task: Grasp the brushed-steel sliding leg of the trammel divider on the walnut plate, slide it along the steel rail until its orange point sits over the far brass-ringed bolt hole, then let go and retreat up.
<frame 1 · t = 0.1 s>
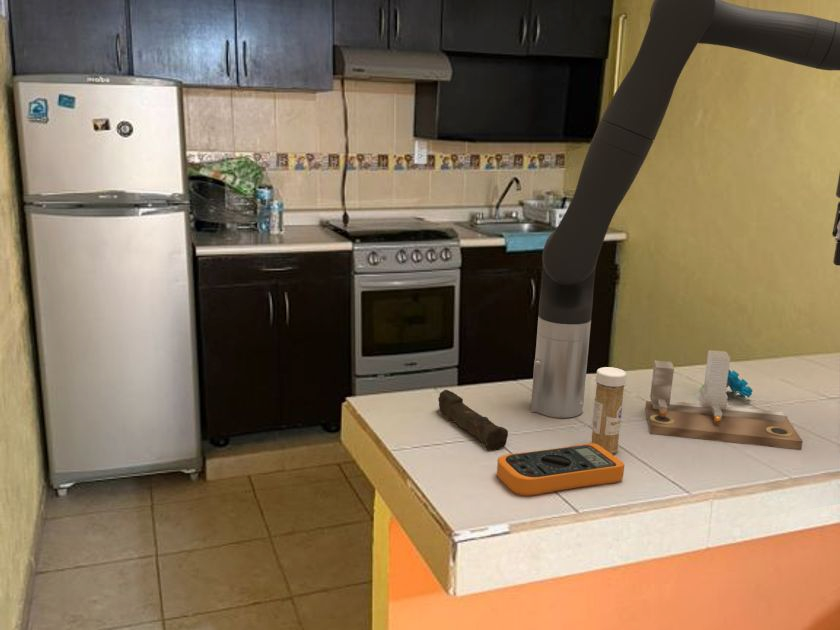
blue branching piece: (724, 396, 153), on the counter
dark brown rod: (464, 431, 132), on the counter
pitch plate: (718, 427, 136), on the counter
sprinkles bottle: (603, 450, 126), on the counter
multimeter: (557, 481, 116), on the counter
sliding leg: (717, 386, 135), point 7 cm above the counter, slide at 0.0 cm
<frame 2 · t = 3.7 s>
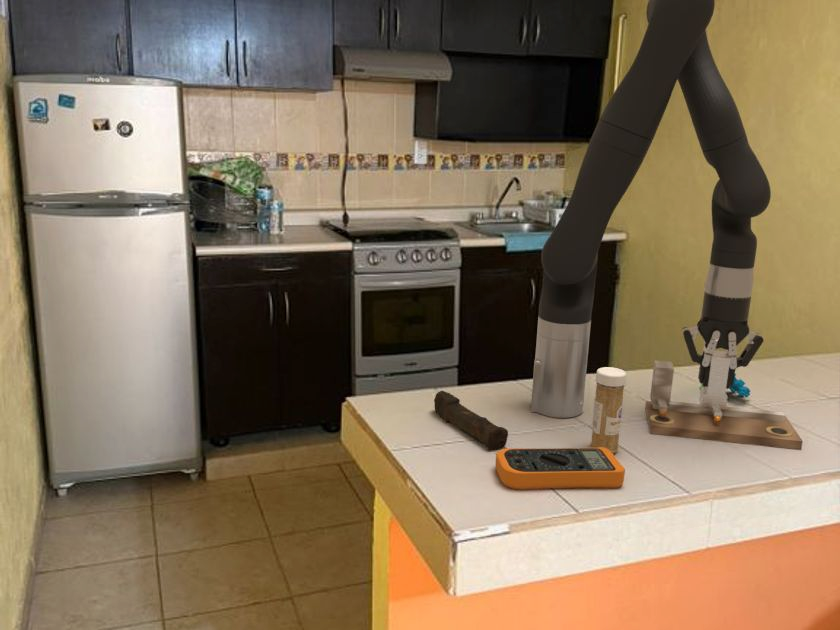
hand: (715, 385, 137), 7 cm above the counter, fingers closed on sliding leg, 3 cm apart
sliding leg: (717, 386, 135), point 7 cm above the counter, slide at 0.0 cm, touching gripper
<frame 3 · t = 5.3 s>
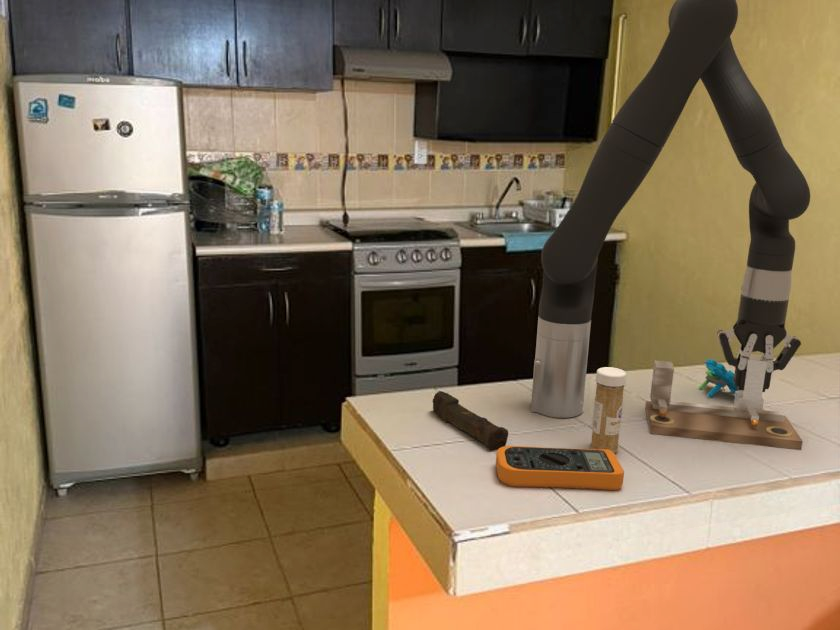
hand: (750, 389, 136), 7 cm above the counter, fingers closed on sliding leg, 3 cm apart
sliding leg: (753, 389, 134), point 7 cm above the counter, slide at 5.9 cm, touching gripper
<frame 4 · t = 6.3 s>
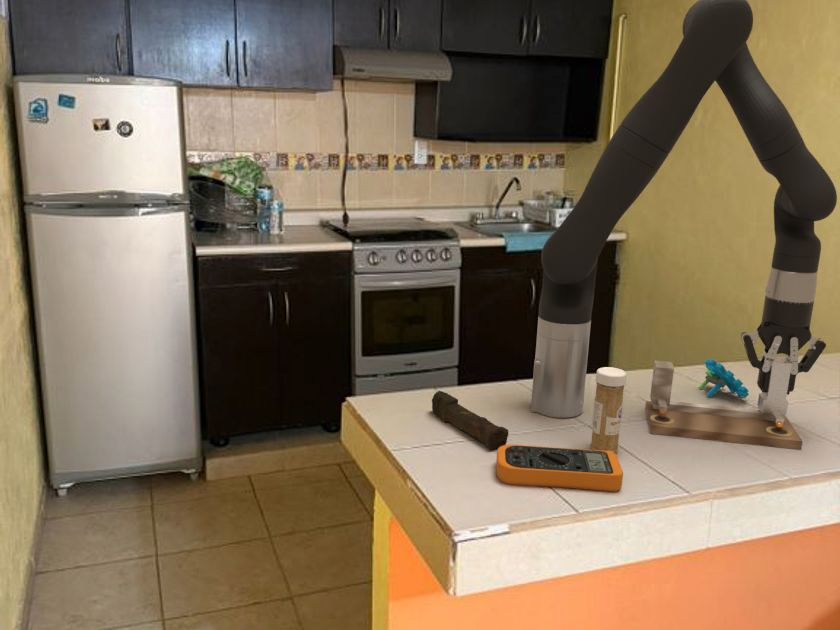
hand: (774, 391, 136), 7 cm above the counter, fingers closed on sliding leg, 3 cm apart
sliding leg: (778, 392, 133), point 7 cm above the counter, slide at 9.9 cm, touching gripper
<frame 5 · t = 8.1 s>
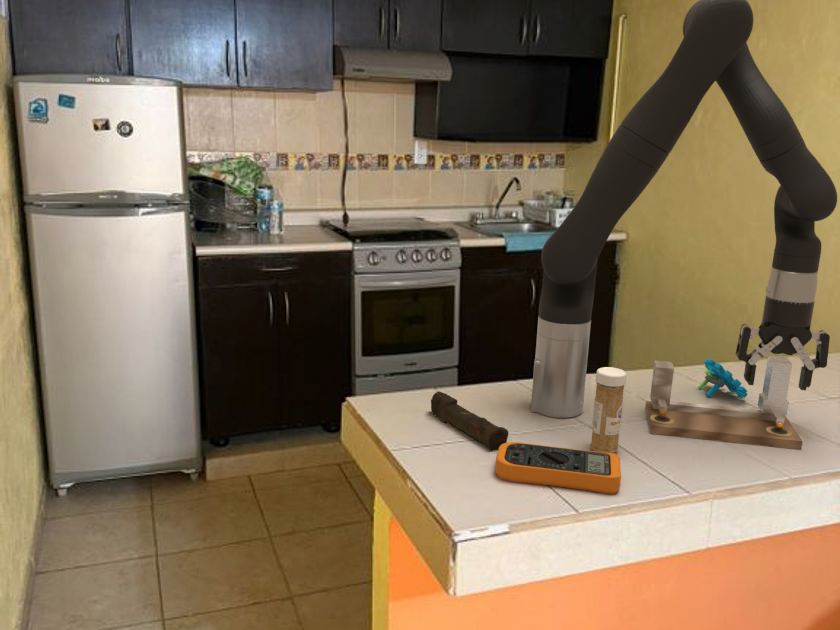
hand: (776, 386, 135), 8 cm above the counter, fingers open, 8 cm apart
sliding leg: (778, 392, 133), point 7 cm above the counter, slide at 9.9 cm
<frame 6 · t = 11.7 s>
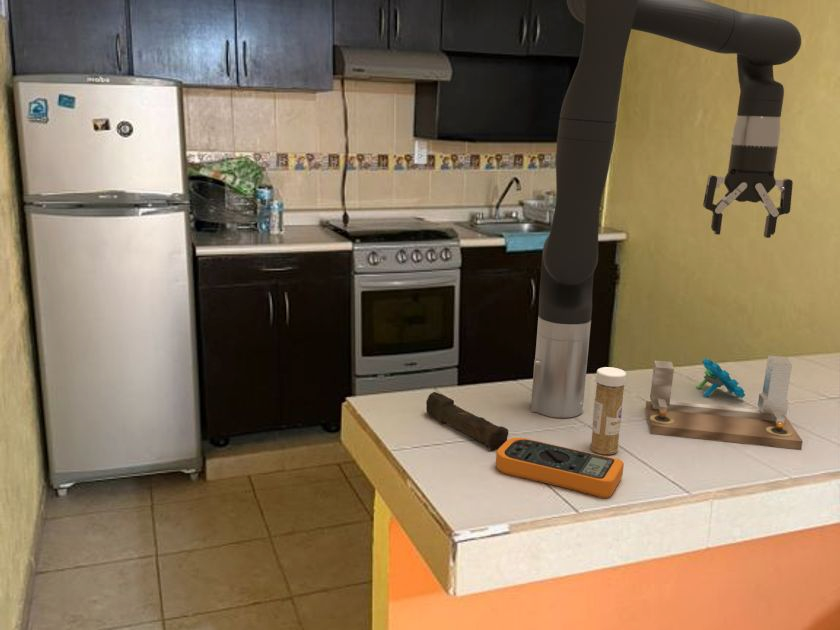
hand: (741, 235, 140), 32 cm above the counter, fingers open, 8 cm apart
at the end: sliding leg slide at 9.9 cm; the gripper is holding nothing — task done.
